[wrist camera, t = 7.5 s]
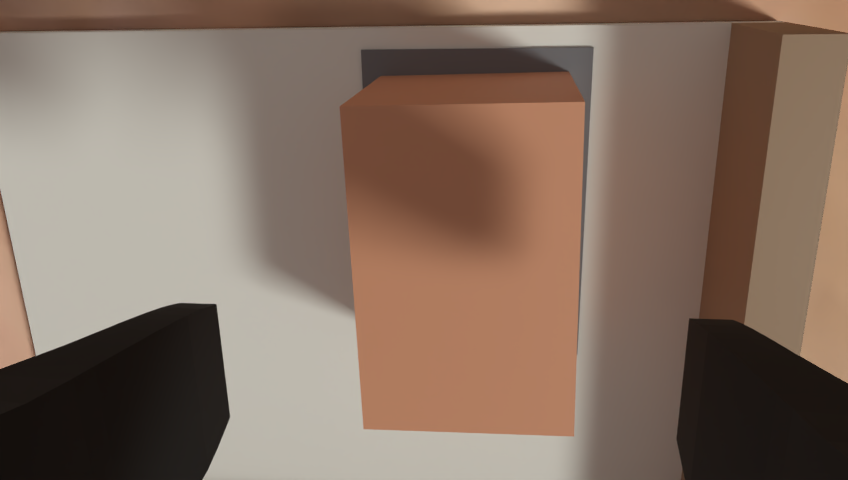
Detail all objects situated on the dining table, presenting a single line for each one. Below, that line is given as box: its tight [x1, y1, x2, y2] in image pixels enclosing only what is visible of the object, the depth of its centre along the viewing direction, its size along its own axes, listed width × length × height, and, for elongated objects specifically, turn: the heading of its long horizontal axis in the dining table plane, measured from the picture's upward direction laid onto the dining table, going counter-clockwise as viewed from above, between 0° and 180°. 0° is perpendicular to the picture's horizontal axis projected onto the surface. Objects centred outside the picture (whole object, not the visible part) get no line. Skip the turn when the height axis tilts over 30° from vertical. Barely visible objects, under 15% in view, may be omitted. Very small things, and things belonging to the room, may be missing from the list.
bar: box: [340, 72, 585, 437], centre depth 17 cm, size 7×4×4 cm, turn 2°
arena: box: [0, 21, 848, 480], centre depth 19 cm, size 16×20×4 cm
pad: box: [361, 47, 594, 353], centre depth 19 cm, size 8×6×1 cm
